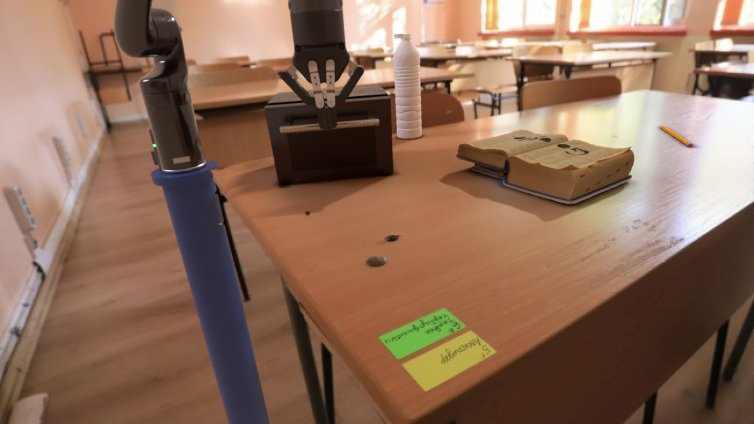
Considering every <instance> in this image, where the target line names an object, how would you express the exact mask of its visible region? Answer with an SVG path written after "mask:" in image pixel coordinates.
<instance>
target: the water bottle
mask: <svg viewBox="0 0 754 424" xmlns="http://www.w3.org/2000/svg"><path fill="white" fill-rule="evenodd" d="M393 39H394V40H396V39H400V42H399V43H398V45H397V47H396V49H395V50H394V53H393V58H392V59H393V60H392V61H393V72H394V96H395V98H394V100H395V101H394V103H395V119H396V121H395V122H396V136H397V138H399V139H403V140H409V139H410V140H412V139H418V138H421V137H422V135H423V131H422V130H423V128H422V103H421V102H422V96H421V95H422V88H421V65H420V64H421V54H420V51H419V49H418V48H417V46H416V45H415V44H414V41H413V40H412V37H411V33H393Z"/></svg>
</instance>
